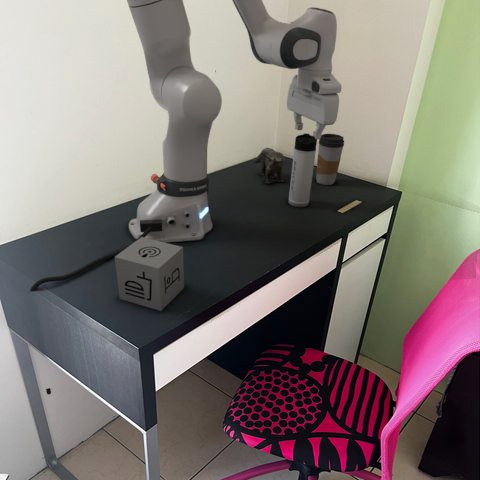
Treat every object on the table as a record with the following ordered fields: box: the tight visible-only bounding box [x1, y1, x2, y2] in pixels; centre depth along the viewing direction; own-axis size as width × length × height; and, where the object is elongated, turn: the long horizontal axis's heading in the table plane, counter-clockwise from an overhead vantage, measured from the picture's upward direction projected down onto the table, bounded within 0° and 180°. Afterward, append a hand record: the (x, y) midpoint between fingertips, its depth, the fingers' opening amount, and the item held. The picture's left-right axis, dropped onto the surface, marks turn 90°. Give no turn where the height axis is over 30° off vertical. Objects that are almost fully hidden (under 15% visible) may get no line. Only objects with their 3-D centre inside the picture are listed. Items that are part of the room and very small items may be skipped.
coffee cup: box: [316, 133, 345, 186], centre depth 161 cm, size 8×8×15 cm
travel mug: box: [287, 132, 318, 208], centre depth 143 cm, size 6×7×20 cm
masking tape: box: [337, 199, 362, 214], centre depth 148 cm, size 12×2×1 cm, turn 140°
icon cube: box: [114, 237, 185, 312], centre depth 101 cm, size 10×10×10 cm
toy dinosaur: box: [252, 147, 286, 184], centre depth 162 cm, size 22×8×11 cm, turn 10°
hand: (307, 133), depth 136 cm, fingers open, 8 cm apart
